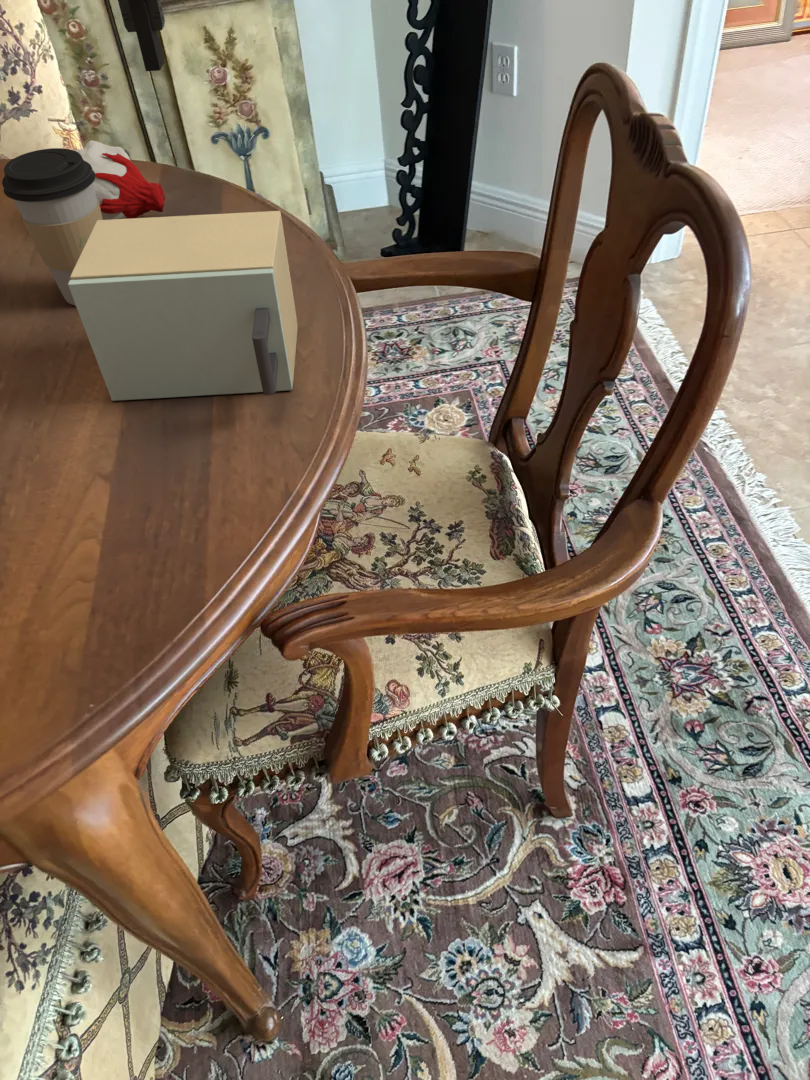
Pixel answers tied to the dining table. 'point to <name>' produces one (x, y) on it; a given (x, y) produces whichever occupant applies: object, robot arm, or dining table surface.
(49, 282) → the dining table surface
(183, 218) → the cupboard
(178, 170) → the dining table surface
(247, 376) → the cupboard door
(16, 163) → the coffee cup
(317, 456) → the dining table surface
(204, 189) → the dining table surface
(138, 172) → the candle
